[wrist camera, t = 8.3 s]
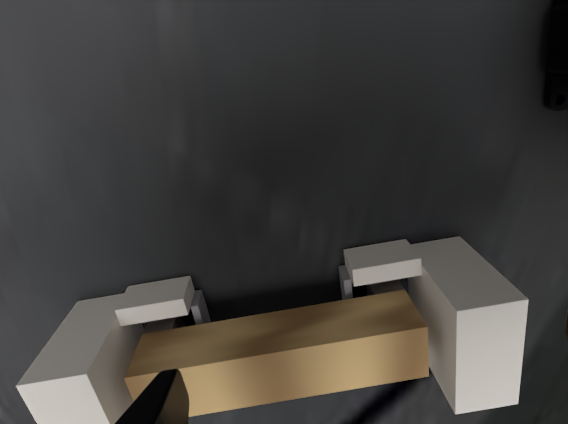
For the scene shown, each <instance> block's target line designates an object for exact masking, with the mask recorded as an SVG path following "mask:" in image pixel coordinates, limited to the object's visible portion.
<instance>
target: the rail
mask: <svg viewBox="0 0 568 424" xmlns="http://www.w3.org/2000/svg"><path fill="white" fill-rule="evenodd" d="M366 290H367V296H364V297H358V298H352V299H346V300H340V301H334V302H328V303H323V304H317V305H311V306H305V307H299V308H293V309H287V310H281V311H275V312H270V313H264V314H258V315H252V316H246V317H240V318H234V319H228V320H222V321H217V322H211V323H205V324H199V325H193V326H187V327H186V326H185V323H184V320H183V317H182V316H179V317H173V318H167V319H161V320H155V321H149V322H147V323H146V326H145V328H144V331H143V333H142V335H141V338H140V340H139V343H138V345H137V347H136V350H135V352H134V355H133V357H132V359H131V362H130V364H129V367H128V369H127V372H126V374H125V376H124V380H125V382H126V385H127V387H128V390H129V392H130V394H131V397H132V399H133V401H135V399H136V398H137V397H138V396H139V395H140V394H141V393H142V391H143V390H144V389H145V388H146V387H147V386H148V384H149V383H150V382H151V381H152V380H153V379H154V378H155V376H156V375H157V374H158V373H159V372H161V371H163V370H169V369H175V368H176V369H179V371H180V372H181V375H182V377H183V380H184V383H185V386H186V389H187V392H188V395H189V417H191V416H197V415H203V414H209V413H215V412H220V411H226V410H232V409H238V408H244V407H250V406H256V405H262V404H268V403H274V402H280V401H286V400H292V399H298V398H304V397H309V396H315V395H321V394H327V393H333V392H339V391H345V390H351V389H357V388H363V387H369V386H375V385H381V384H387V383H393V382H399V381H404V380H410V379H416V378H422V377H428V376H429V359H428V326H427V325H426V323H425V321H424V320H423V318H422V317H421V315H420V313H419V312H418V310H417V308H416V307H415V305H414V304H413V302H412V300H411V299H410V297H409V295H408V294H407V292H406V291H405V289H404V287H403V286H402V284H401V282H400V281H399V279H397V280H391V281H385V282H379V283H373V284H367V285H366Z"/></svg>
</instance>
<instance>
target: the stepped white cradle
mask: <svg viewBox="0 0 568 424" xmlns="http://www.w3.org/2000/svg"><path fill="white" fill-rule="evenodd" d="M343 250H344V259H345V265H342V266H338V269H339V277H340V285H341V293H342V300H346V299H352V298H353V293H352V284H351V281H352V283H353V285H354V287H355V286H361V285H367V284H373V283H379V282H385V281H391V280H397V279H402V278H408V295H409V297H410V299H411V300H412V302H413V304H414V305H415V307H416V308H417V310H418V312H419V313H420V315H421V317H422V318H423V320H424V321H425V323H426V325H427V326H428V359H429V367H430V369H431V371H432V372H433V374H434V376H435V378H436V380H437V382H438V384H439V385H440V387H441V389H442V391H443V393H444V395H445V396H446V398H447V400H448V402H449V404H450V406H451V407H452V409H453V411H454V413H455V414H461V413H467V412H473V411H479V410H485V409H491V408H497V407H503V406H509V405H515V404H518V400H519V390H520V380H521V370H522V360H523V350H524V340H525V330H526V320H527V310H528V300H529V299H528V298H527V297H525V296H524V295H523V294H522V293H521V292H520V291H519V290H518V289H517V288H516V287H515V286H513V285H512V284H511V283H510V282H509V281H508V280H507V279H506V278H505V277H504V276H503V275H501V274H500V273H499V272H498V271H497V270H496V269H495V268H494V267H493V266H492V265H491V264H489V263H488V262H487V261H486V260H485V259H484V258H483V257H482V256H481V255H480V254H478V253H477V252H476V251H475V250H474V249H473V248H472V247H471V246H470V245H469V244H468V243H466V242H465V241H464V240H463V239H462V238H461V237H460V236H457V237H451V238H446V239H440V240H434V241H428V242H422V243H416V244H410V243H409V242H408V241H407V240H406V239H402V240H396V241H390V242H384V243H379V244H373V245H367V246H361V247H355V248H349V249H343ZM190 307H191V310H192V313H193V317H194V320H195V323H196V325H199V324H205V323H211V320H210V317H209V313H208V310H207V306H206V303H205V299H204V296H203V292H202V289H201V290H194V286H193V283H192V280H191V276H185V277H179V278H173V279H167V280H161V281H155V282H149V283H144V284H138V285H132V286H128V287H127V289H126V291H125V293H122V294H116V295H111V296H105V297H99V298H93V299H87V300H81V301H77V303H76V304H75V305H74V307H73V308H72V309H71V311H70V312H69V314H68V315H67V316H66V318H65V319H64V320H63V322H62V323H61V325H60V326H59V327H58V329H57V330H56V331H55V333H54V334H53V336H52V337H51V338H50V340H49V341H48V342H47V344H46V345H45V346H44V348H43V349H42V351H41V352H40V353H39V355H38V356H37V357H36V359H35V360H34V362H33V363H32V364H31V366H30V367H29V368H28V370H27V371H26V373H25V374H24V375H23V377H22V378H21V379H20V381H19V382H18V384H17V385H16V388H17V389H18V391H19V393H20V395H21V396H22V398H23V400H24V402H25V403H26V405H27V407H28V409H29V410H30V412H31V414H32V416H33V417H34V419H35V421H36V423H37V424H115V422H116V421H117V420H118V419H119V418H120V417H121V416H122V414H123V413H124V412H125V411H126V410H127V409H128V408H129V406H130V405H131V404H132V403H133V402H134V401H133V399H132V397H131V394H130V392H129V390H128V387H127V385H126V382H125V380H124V376H125V374H126V372H127V369H128V367H129V364H130V362H131V359H132V357H133V355H134V352H135V350H136V347H137V345H138V343H139V340H140V338H141V335H142V333H143V331H144V327H143V325H142V323H143V322H149V321H155V320H161V319H167V318H173V317H179V316H184V315H188V314H189V310H190Z"/></svg>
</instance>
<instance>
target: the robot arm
mask: <svg viewBox="0 0 568 424" xmlns="http://www.w3.org/2000/svg"><path fill="white" fill-rule="evenodd" d="M546 68H547V76H546V87H545V97H544V104H545V106H546V108H548V109H551V110H564V109H568V0H554V4H553V11H552V13H551V24H550V34H549V45H548V55H547V66H546ZM558 95H559V97H560V99H559V101H558V102H557V103H556V104H555V99H556V97H557V96H558ZM565 333H566V336H567V339H568V310H567V317H566V324H565ZM188 418H189V395H188V392H187V389H186V386H185V383H184V380H183V377H182V375H181V372H180V371H179V369H176V368H175V369H169V370H163V371H161V372H159V373H158V374H157V375H156V376H155V378H154V379H153V380H152V381H151V382H150V383H149V384H148V386H147V387H146V388H145V389H144V390H143V391H142V393H141V394H140V395H139V396H138V397H137V398H136V399H135V401H134V402H133V403H132V404H131V405H130V406H129V408H128V409H127V410H126V411H125V412H124V413H123V414H122V416H121V417H120V418H119V419H118V420H117V421H116V422H115V424H188Z"/></svg>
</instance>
